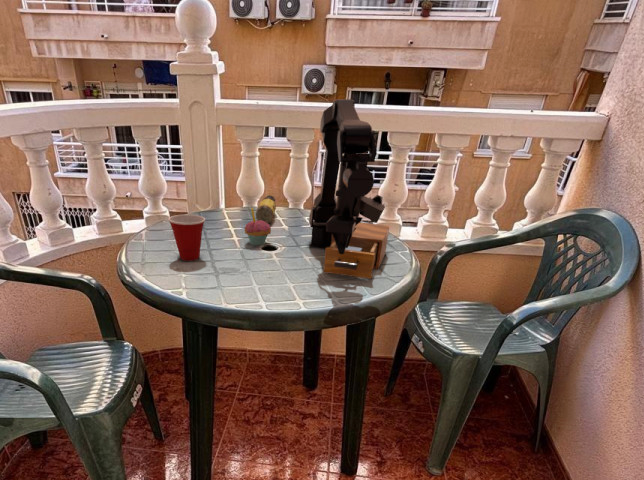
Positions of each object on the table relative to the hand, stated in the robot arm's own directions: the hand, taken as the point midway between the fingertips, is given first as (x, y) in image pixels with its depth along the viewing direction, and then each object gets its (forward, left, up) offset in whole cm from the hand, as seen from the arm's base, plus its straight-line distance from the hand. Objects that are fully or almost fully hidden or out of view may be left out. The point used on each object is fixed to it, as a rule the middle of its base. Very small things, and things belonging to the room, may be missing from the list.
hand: (343, 250), depth 123 cm
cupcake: (-34, +27, -11) cm, 44 cm away
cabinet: (0, +26, -11) cm, 28 cm away
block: (0, +14, -9) cm, 17 cm away
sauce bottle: (-38, +45, -8) cm, 60 cm away
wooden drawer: (0, +13, -10) cm, 17 cm away
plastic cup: (-49, +8, -11) cm, 50 cm away
